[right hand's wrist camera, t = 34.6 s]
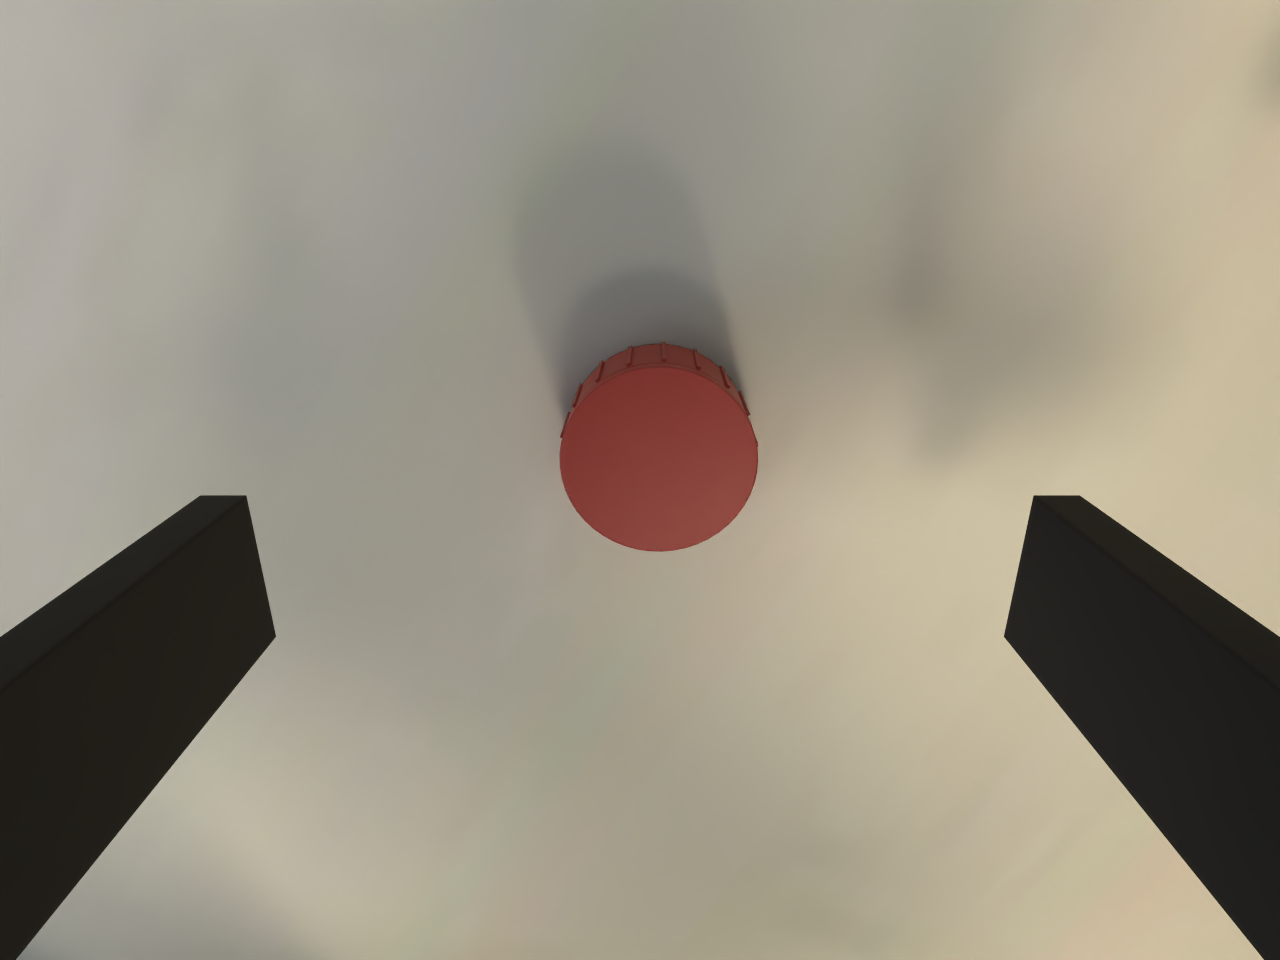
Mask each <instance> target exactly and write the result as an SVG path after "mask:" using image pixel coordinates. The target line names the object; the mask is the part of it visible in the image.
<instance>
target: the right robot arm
mask: <svg viewBox="0 0 1280 960" xmlns="http://www.w3.org/2000/svg"><path fill="white" fill-rule="evenodd" d="M275 637H276V634H275V630H274V625H273V620H272V615H271V611H270V606H269V601H268V596H267V592H266V587H265V582H264V577H263V573H262V568H261V563H260V558H259V554H258V549H257V544H256V539H255V535H254V530H253V525H252V520H251V516H250V511H249V506H248V501H247V497H246V496H199V497H198V498H196V499H195V500H193V501H192V502H191V503H189V504H188V505H186V506H185V507H183V508H182V509H181V510H179V511H178V512H176V513H175V514H174V515H172V516H171V517H169V518H168V519H167V520H165V521H164V522H162V523H161V524H159V525H158V526H157V527H155V528H154V529H152V530H151V531H150V532H148V533H147V534H145V535H144V536H142V537H141V538H140V539H138V540H137V541H135V542H134V543H133V544H131V545H130V546H128V547H127V548H126V549H124V550H123V551H121V552H120V553H118V554H117V555H116V556H114V557H113V558H111V559H110V560H109V561H107V562H106V563H104V564H103V565H102V566H100V567H99V568H97V569H96V570H94V571H93V572H92V573H90V574H89V575H87V576H86V577H85V578H83V579H82V580H80V581H79V582H77V583H76V584H75V585H73V586H72V587H70V588H69V589H68V590H66V591H65V592H63V593H62V594H61V595H59V596H58V597H56V598H55V599H53V600H52V601H51V602H49V603H48V604H46V605H45V606H44V607H42V608H41V609H39V610H38V611H36V612H35V613H34V614H32V615H31V616H29V617H28V618H27V619H25V620H24V621H22V622H21V623H20V624H18V625H17V626H15V627H14V628H12V629H11V630H10V631H8V632H7V633H5V634H4V635H3V636H1V637H0V960H16V959H17V958H18V956H19V955H20V954H21V953H22V951H23V950H24V949H25V948H26V946H27V945H28V944H29V943H30V941H31V940H32V939H33V938H34V936H35V935H36V934H37V933H38V932H39V930H40V929H41V928H42V927H43V925H44V924H45V923H46V922H47V920H48V919H49V918H50V917H51V915H52V914H53V913H54V912H55V910H56V909H57V908H58V907H59V905H60V904H61V903H62V902H63V900H64V899H65V898H66V897H67V896H68V894H69V893H70V892H71V891H72V889H73V888H74V887H75V886H76V884H77V883H78V882H79V881H80V879H81V878H82V877H83V876H84V874H85V873H86V872H87V871H88V869H89V868H90V867H91V866H92V864H93V863H94V862H95V861H96V859H97V858H98V857H99V856H100V855H101V853H102V852H103V851H104V850H105V848H106V847H107V846H108V845H109V843H110V842H111V841H112V840H113V838H114V837H115V836H116V835H117V833H118V832H119V831H120V830H121V828H122V827H123V826H124V825H125V823H126V822H127V821H128V820H129V819H130V817H131V816H132V815H133V814H134V812H135V811H136V810H137V809H138V807H139V806H140V805H141V804H142V802H143V801H144V800H145V799H146V797H147V796H148V795H149V794H150V792H151V791H152V790H153V789H154V787H155V786H156V785H157V784H158V783H159V781H160V780H161V779H162V778H163V776H164V775H165V774H166V773H167V771H168V770H169V769H170V768H171V766H172V765H173V764H174V763H175V761H176V760H177V759H178V758H179V756H180V755H181V754H182V753H183V751H184V750H185V749H186V748H187V746H188V745H189V744H190V743H191V742H192V740H193V739H194V738H195V737H196V735H197V734H198V733H199V732H200V730H201V729H202V728H203V727H204V725H205V724H206V723H207V722H208V720H209V719H210V718H211V717H212V715H213V714H214V713H215V712H216V710H217V709H218V708H219V707H220V706H221V704H222V703H223V702H224V701H225V699H226V698H227V697H228V696H229V694H230V693H231V692H232V691H233V689H234V688H235V687H236V686H237V684H238V683H239V682H240V681H241V679H242V678H243V677H244V676H245V674H246V673H247V672H248V671H249V670H250V668H251V667H252V666H253V665H254V663H255V662H256V661H257V660H258V658H259V657H260V656H261V655H262V653H263V652H264V651H265V650H266V648H267V647H268V646H269V645H270V643H271V642H272V641H273V640H274V638H275ZM1004 637H1005V638H1006V640H1007V641H1008V642H1009V643H1010V645H1011V646H1012V647H1013V648H1014V650H1015V651H1016V652H1017V653H1018V655H1019V656H1020V657H1021V658H1022V660H1023V661H1024V662H1025V663H1026V665H1027V666H1028V667H1029V668H1030V670H1031V671H1032V672H1033V673H1034V674H1035V676H1036V677H1037V678H1038V679H1039V681H1040V682H1041V683H1042V684H1043V686H1044V687H1045V688H1046V689H1047V691H1048V692H1049V693H1050V694H1051V696H1052V697H1053V698H1054V699H1055V701H1056V702H1057V703H1058V704H1059V706H1060V707H1061V708H1062V709H1063V710H1064V712H1065V713H1066V714H1067V715H1068V717H1069V718H1070V719H1071V720H1072V722H1073V723H1074V724H1075V725H1076V727H1077V728H1078V729H1079V730H1080V732H1081V733H1082V734H1083V735H1084V737H1085V738H1086V739H1087V740H1088V742H1089V743H1090V744H1091V745H1092V746H1093V748H1094V749H1095V750H1096V751H1097V753H1098V754H1099V755H1100V756H1101V758H1102V759H1103V760H1104V761H1105V763H1106V764H1107V765H1108V766H1109V768H1110V769H1111V770H1112V771H1113V773H1114V774H1115V775H1116V776H1117V778H1118V779H1119V780H1120V781H1121V783H1122V784H1123V785H1124V786H1125V787H1126V789H1127V790H1128V791H1129V792H1130V794H1131V795H1132V796H1133V797H1134V799H1135V800H1136V801H1137V802H1138V804H1139V805H1140V806H1141V807H1142V809H1143V810H1144V811H1145V812H1146V814H1147V815H1148V816H1149V817H1150V819H1151V820H1152V821H1153V822H1154V823H1155V825H1156V826H1157V827H1158V828H1159V830H1160V831H1161V832H1162V833H1163V835H1164V836H1165V837H1166V838H1167V840H1168V841H1169V842H1170V843H1171V845H1172V846H1173V847H1174V848H1175V850H1176V851H1177V852H1178V853H1179V855H1180V856H1181V857H1182V858H1183V859H1184V861H1185V862H1186V863H1187V864H1188V866H1189V867H1190V868H1191V869H1192V871H1193V872H1194V873H1195V874H1196V876H1197V877H1198V878H1199V879H1200V881H1201V882H1202V883H1203V884H1204V886H1205V887H1206V888H1207V889H1208V891H1209V892H1210V893H1211V894H1212V896H1213V897H1214V898H1215V899H1216V900H1217V902H1218V903H1219V904H1220V905H1221V907H1222V908H1223V909H1224V910H1225V912H1226V913H1227V914H1228V915H1229V917H1230V918H1231V919H1232V920H1233V922H1234V923H1235V924H1236V925H1237V927H1238V928H1239V929H1240V930H1241V932H1242V933H1243V934H1244V935H1245V936H1246V938H1247V939H1248V940H1249V941H1250V943H1251V944H1252V945H1253V946H1254V948H1255V949H1256V950H1257V951H1258V953H1259V954H1260V955H1261V956H1262V958H1263V959H1264V960H1280V637H1279V636H1277V635H1276V634H1275V633H1273V632H1272V631H1270V630H1269V629H1268V628H1266V627H1265V626H1263V625H1262V624H1260V623H1259V622H1258V621H1256V620H1255V619H1253V618H1252V617H1251V616H1249V615H1248V614H1246V613H1245V612H1244V611H1242V610H1241V609H1239V608H1238V607H1236V606H1235V605H1234V604H1232V603H1231V602H1229V601H1228V600H1227V599H1225V598H1224V597H1222V596H1221V595H1219V594H1218V593H1217V592H1215V591H1214V590H1212V589H1211V588H1210V587H1208V586H1207V585H1205V584H1204V583H1203V582H1201V581H1200V580H1198V579H1197V578H1195V577H1194V576H1193V575H1191V574H1190V573H1188V572H1187V571H1186V570H1184V569H1183V568H1181V567H1180V566H1178V565H1177V564H1176V563H1174V562H1173V561H1171V560H1170V559H1169V558H1167V557H1166V556H1164V555H1163V554H1162V553H1160V552H1159V551H1157V550H1156V549H1154V548H1153V547H1152V546H1150V545H1149V544H1147V543H1146V542H1145V541H1143V540H1142V539H1140V538H1139V537H1138V536H1136V535H1135V534H1133V533H1132V532H1130V531H1129V530H1128V529H1126V528H1125V527H1123V526H1122V525H1121V524H1119V523H1118V522H1116V521H1115V520H1113V519H1112V518H1111V517H1109V516H1108V515H1106V514H1105V513H1104V512H1102V511H1101V510H1099V509H1098V508H1097V507H1095V506H1094V505H1092V504H1091V503H1089V502H1088V501H1087V500H1085V499H1084V498H1082V497H1081V496H1034V497H1033V501H1032V506H1031V511H1030V516H1029V520H1028V525H1027V530H1026V535H1025V539H1024V544H1023V549H1022V554H1021V558H1020V563H1019V568H1018V573H1017V577H1016V582H1015V587H1014V592H1013V596H1012V601H1011V606H1010V611H1009V615H1008V620H1007V625H1006V630H1005V634H1004Z"/></svg>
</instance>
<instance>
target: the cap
mask: <svg viewBox="0 0 1280 960" xmlns="http://www.w3.org/2000/svg"><path fill="white" fill-rule="evenodd" d="M749 415H750V413H749V410H748V408H747V405H746V403H745V401H744V398H743V396H742V393H741V391H739V392H738V391H737V389H736V387H735V385H734V384H733V383H732V381H731V380H730V378H729V377H728V376H727V375H726V373H725V371H724V368H723V367H722V366H721V367H718V366H717V365H716V364H715V363H713V362H712V361H711V360H709V359H708V358H706V357H704V356H703V355H701V354H699V353H697V350H695V349H693V351H692V350H690V349H686V348H683V347H680V346H674V345H667V344H665V342H661V344H651V345H642V346H638V347H634V348H632V346H630V347H628V350H625V351H622V352H620V353H618V354H616V355H614V356H612V357H611V358H609V359H607V360H606V361H605V362H603V360H602V361H601V362H600V364H599V366H598V367H597V368H596V369H595V370H594V371H593V372H592V373H591V374H590V375H589V377H588V378H587V379H586V380H585V382H584V383H583V384H580V385H579V387H578V390H577V393H576V396H575V399H574V402H573V405H572V410H571V412H568V415H567V418H566V421H565V424H564V427H563V430H562V433H561V436H560V437H561V438H562V441H561V448H560V470H561V476H562V481H563V484H564V487H565V490H566V493H567V495H568V497H569V499H570V501H571V503H572V504H573V506H574V508H575V509H576V511H577V512H578V513H579V514H580V516H581V517H582V518H583V519H584V520H585V521H586V522H587V523H588V524H589V525H590V526H591V527H592V528H593V529H595V530H596V531H597V532H599V533H600V534H602V535H603V536H605V537H607V538H608V539H610V540H612V541H614V542H616V543H619V544H621V545H624V546H627V547H630V548H634V549H638V550H645V551H672V550H678V549H683V548H687V547H690V546H693V545H696V544H699V543H701V542H703V541H705V540H707V539H709V538H711V537H712V536H714V535H715V534H717V533H719V532H720V531H721V530H722V529H724V528H725V527H726V526H727V525H728V524H729V523H730V522H731V521H732V520H733V519H734V518H735V517H736V516H737V515H738V514H739V512H740V511H741V509H742V508H743V507H744V505H745V503H746V501H747V500H748V498H749V496H750V494H751V491H752V488H753V486H754V483H755V479H756V474H757V467H758V449H757V447H758V442H757V440H756V437H755V434H754V431H753V428H752V425H751V423H750V420H749V418H748V416H749Z"/></svg>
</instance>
